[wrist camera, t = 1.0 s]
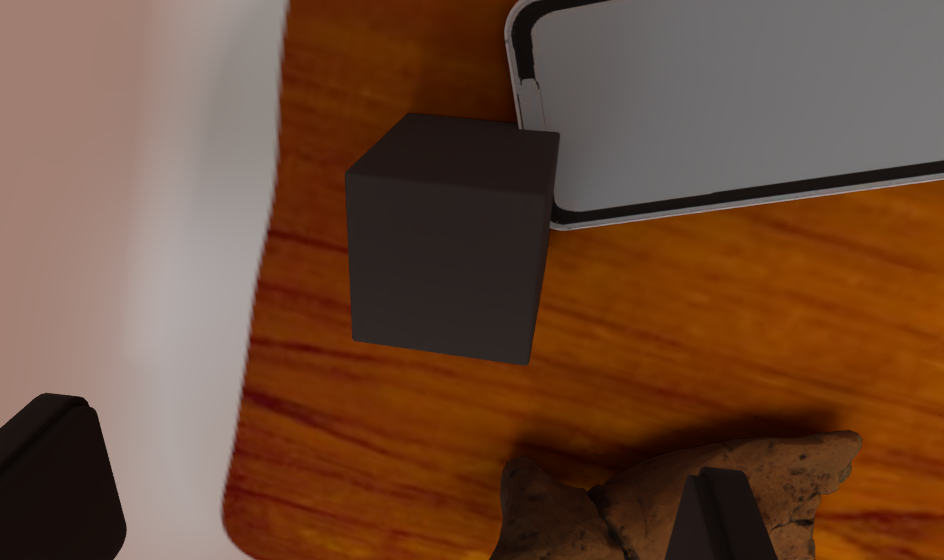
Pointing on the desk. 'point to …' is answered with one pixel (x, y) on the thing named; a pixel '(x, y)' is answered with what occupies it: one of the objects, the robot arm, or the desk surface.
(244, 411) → the desk surface
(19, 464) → the robot arm
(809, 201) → the desk surface
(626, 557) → the sculpture
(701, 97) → the smartphone
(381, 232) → the dark grey cube
